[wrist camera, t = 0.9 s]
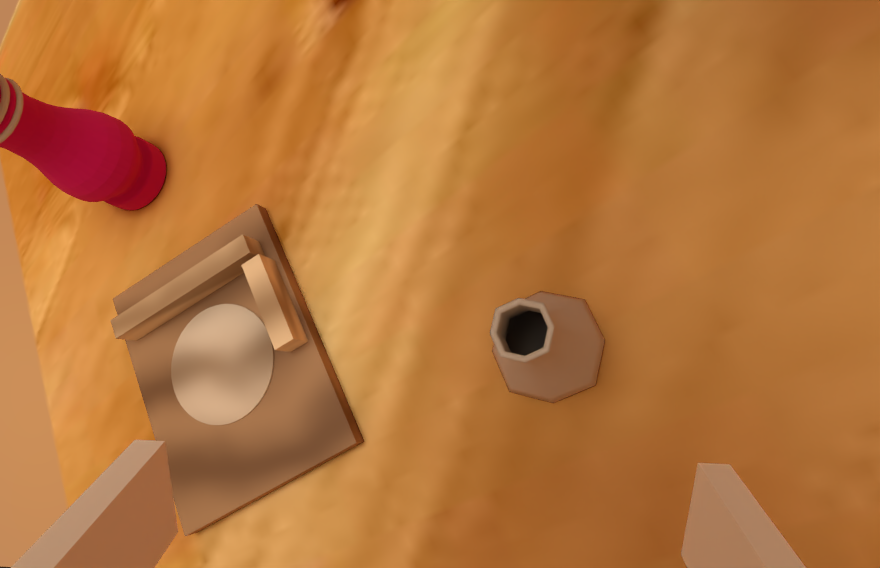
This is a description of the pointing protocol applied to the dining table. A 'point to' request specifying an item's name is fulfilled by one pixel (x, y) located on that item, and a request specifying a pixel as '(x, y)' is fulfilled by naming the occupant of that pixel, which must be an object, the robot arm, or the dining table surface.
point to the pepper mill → (81, 150)
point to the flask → (547, 346)
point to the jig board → (232, 371)
